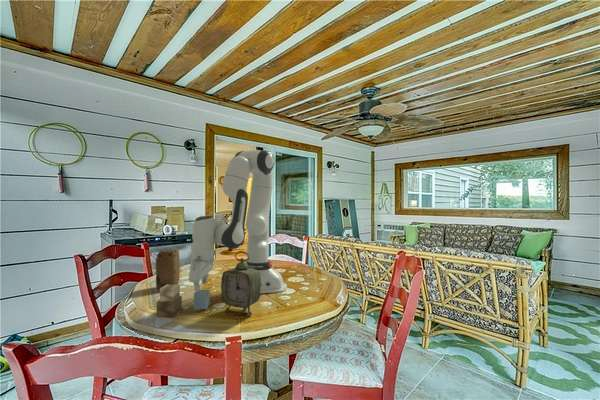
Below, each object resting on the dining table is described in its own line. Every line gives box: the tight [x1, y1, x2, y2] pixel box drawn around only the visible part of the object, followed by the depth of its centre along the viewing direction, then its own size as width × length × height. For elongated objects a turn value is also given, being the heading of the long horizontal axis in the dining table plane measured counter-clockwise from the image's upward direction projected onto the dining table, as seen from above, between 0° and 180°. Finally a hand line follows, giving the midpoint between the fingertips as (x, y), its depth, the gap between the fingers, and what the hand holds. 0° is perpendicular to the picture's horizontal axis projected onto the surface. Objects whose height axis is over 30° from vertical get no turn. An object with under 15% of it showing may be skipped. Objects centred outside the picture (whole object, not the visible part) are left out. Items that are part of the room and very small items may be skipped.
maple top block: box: [159, 284, 181, 302], centre depth 114 cm, size 6×6×5 cm
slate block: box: [193, 289, 211, 311], centre depth 120 cm, size 5×5×7 cm
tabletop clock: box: [220, 250, 262, 317], centre depth 116 cm, size 14×9×25 cm, turn 66°
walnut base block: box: [155, 295, 183, 318], centre depth 114 cm, size 7×7×6 cm
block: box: [155, 248, 181, 289], centre depth 147 cm, size 11×8×20 cm
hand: (200, 286), depth 120 cm, fingers open, 8 cm apart
